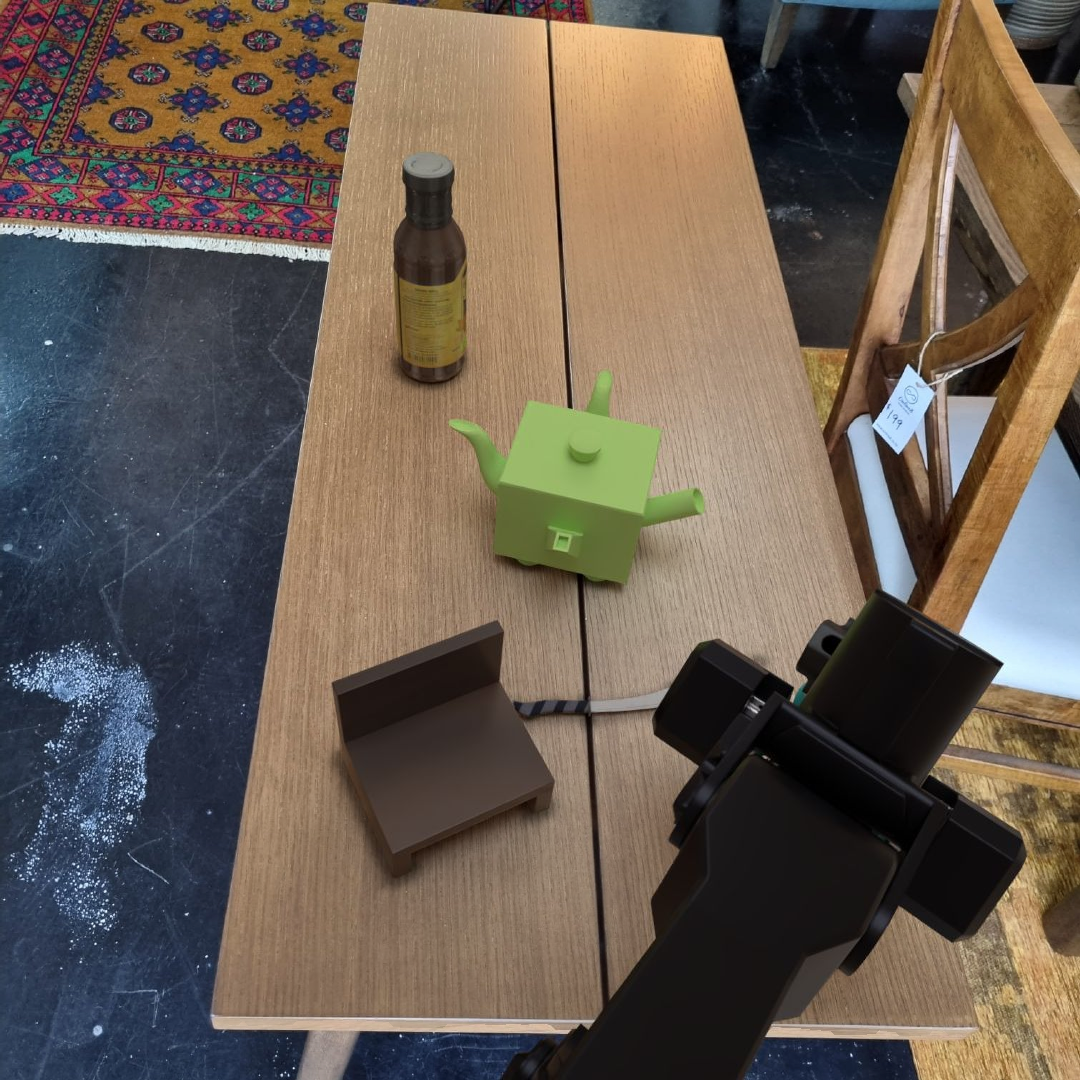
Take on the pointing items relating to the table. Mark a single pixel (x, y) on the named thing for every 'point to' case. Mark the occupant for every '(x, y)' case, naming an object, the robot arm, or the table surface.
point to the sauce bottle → (430, 272)
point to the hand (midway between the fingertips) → (841, 755)
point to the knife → (590, 705)
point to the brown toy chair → (437, 743)
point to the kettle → (576, 487)
